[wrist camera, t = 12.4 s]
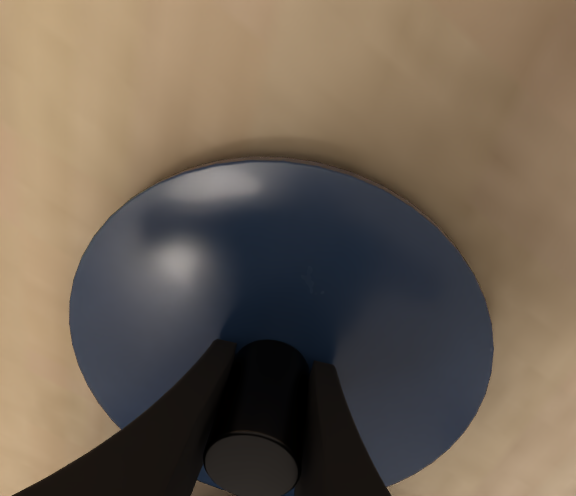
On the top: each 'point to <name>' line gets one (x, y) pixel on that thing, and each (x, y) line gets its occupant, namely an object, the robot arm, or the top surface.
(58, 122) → the top surface
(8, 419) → the top surface
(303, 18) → the top surface
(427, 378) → the pot lid
